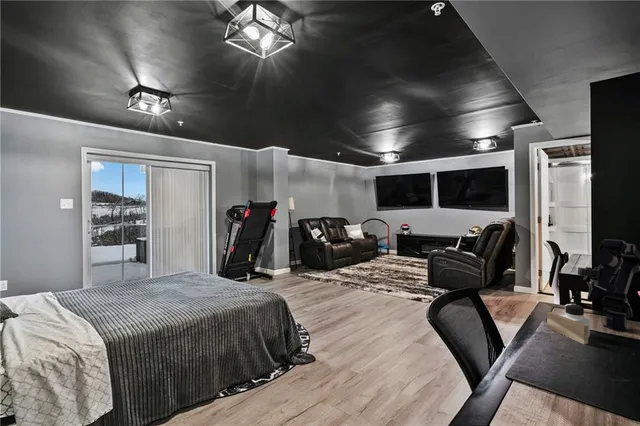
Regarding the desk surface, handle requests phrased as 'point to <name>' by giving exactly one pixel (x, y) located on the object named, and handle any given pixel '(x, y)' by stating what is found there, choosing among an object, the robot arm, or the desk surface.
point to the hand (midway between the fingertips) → (588, 300)
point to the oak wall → (568, 327)
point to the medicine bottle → (576, 314)
